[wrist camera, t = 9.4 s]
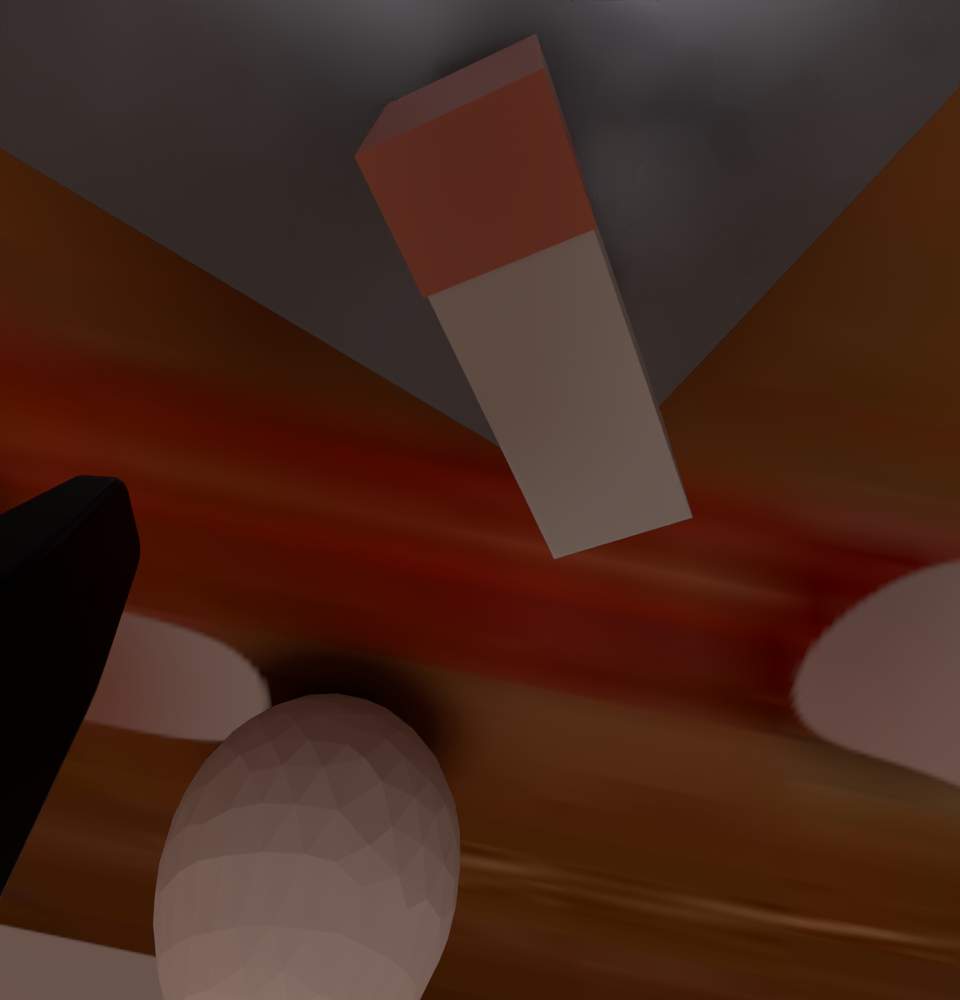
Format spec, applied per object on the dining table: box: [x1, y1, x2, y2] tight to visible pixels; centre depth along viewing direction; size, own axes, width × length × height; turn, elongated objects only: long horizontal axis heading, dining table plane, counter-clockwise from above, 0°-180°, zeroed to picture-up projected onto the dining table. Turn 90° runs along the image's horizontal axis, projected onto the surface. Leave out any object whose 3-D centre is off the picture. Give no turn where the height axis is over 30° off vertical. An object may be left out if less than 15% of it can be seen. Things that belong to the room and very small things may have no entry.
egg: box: [153, 693, 460, 1000], centre depth 24 cm, size 9×9×12 cm
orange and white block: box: [354, 34, 693, 559], centre depth 14 cm, size 7×2×6 cm, turn 23°
